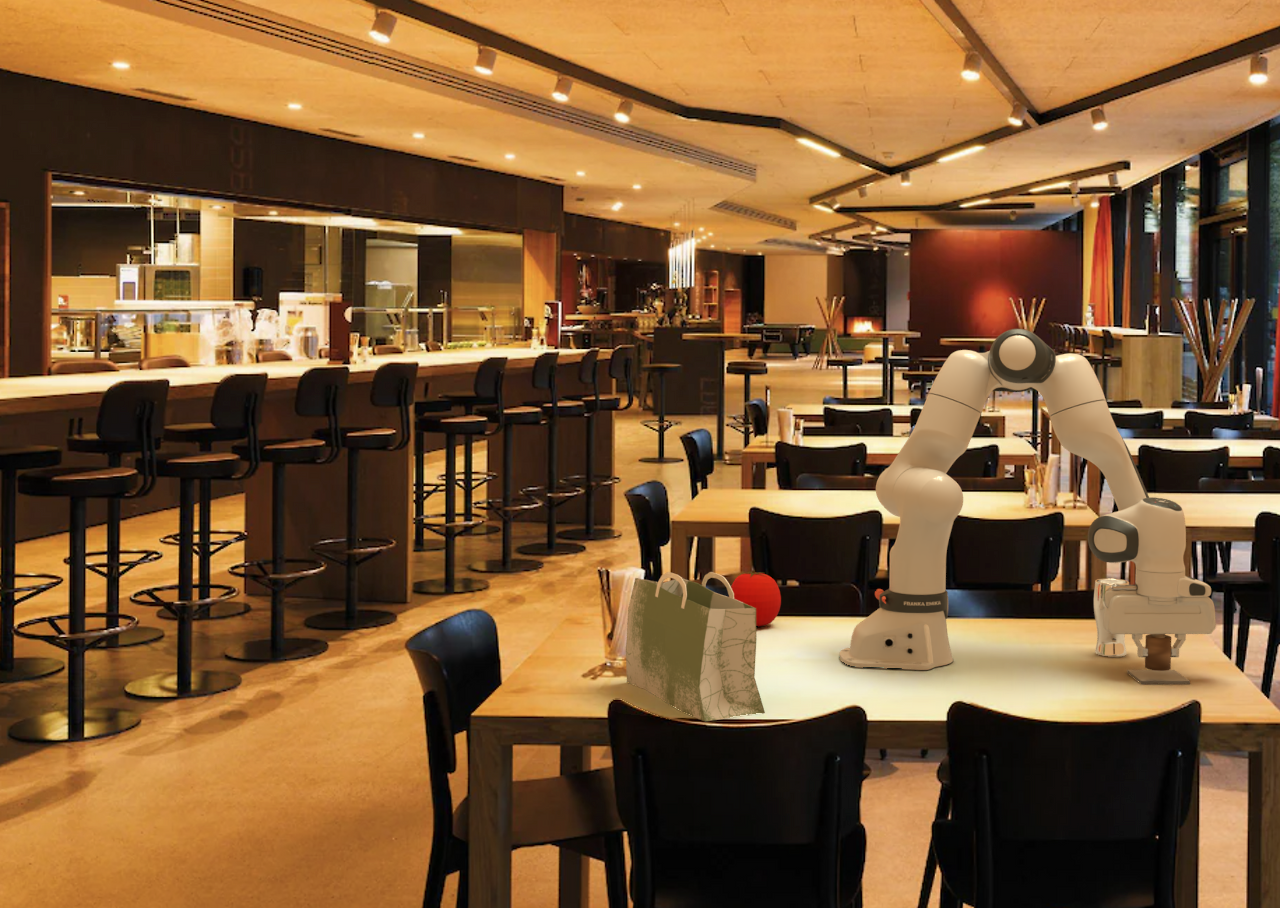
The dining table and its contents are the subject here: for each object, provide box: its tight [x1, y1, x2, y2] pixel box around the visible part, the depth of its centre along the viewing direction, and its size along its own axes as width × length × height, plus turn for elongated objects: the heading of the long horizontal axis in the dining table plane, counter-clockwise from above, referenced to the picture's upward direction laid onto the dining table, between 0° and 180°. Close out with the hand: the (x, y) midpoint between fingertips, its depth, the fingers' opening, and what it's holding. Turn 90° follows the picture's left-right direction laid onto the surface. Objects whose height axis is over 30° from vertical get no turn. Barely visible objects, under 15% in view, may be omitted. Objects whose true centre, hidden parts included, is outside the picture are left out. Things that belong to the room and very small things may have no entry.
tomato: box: [730, 569, 782, 627], centre depth 337 cm, size 12×12×13 cm
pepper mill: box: [1144, 634, 1172, 671], centre depth 286 cm, size 5×5×7 cm
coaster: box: [1126, 669, 1191, 685], centre depth 286 cm, size 9×9×1 cm
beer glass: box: [1093, 578, 1130, 658], centre depth 306 cm, size 7×7×15 cm
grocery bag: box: [625, 571, 766, 722], centre depth 274 cm, size 32×14×23 cm, turn 26°
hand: (1158, 656), depth 286 cm, fingers closed on pepper mill, 4 cm apart
